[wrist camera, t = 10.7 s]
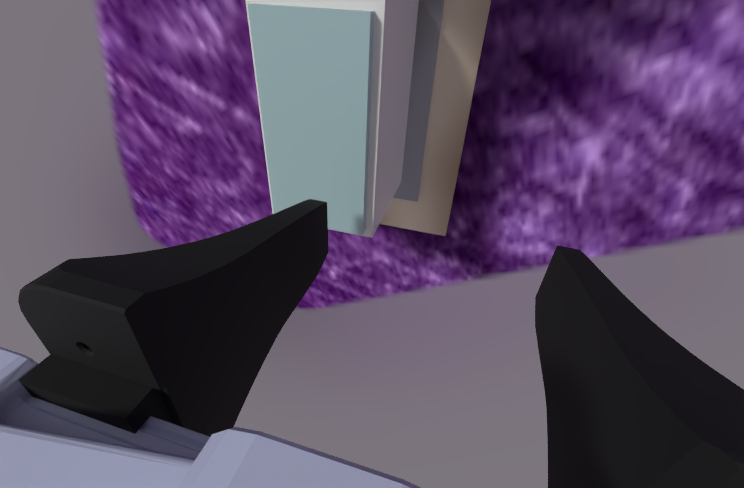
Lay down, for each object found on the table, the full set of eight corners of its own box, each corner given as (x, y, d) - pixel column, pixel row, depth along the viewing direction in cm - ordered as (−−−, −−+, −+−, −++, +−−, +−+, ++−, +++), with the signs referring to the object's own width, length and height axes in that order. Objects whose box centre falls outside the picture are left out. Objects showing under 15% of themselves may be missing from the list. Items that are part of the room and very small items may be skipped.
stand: (508, -89, 14) (510, -103, 12) (449, 217, 22) (444, 238, 20) (277, -92, 16) (246, -104, 14) (298, 190, 24) (281, 208, 22)
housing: (401, 181, 19) (369, 242, 14) (322, 169, 20) (268, 223, 15) (419, -2, 15) (381, -2, 10) (316, -8, 16) (236, -10, 11)
